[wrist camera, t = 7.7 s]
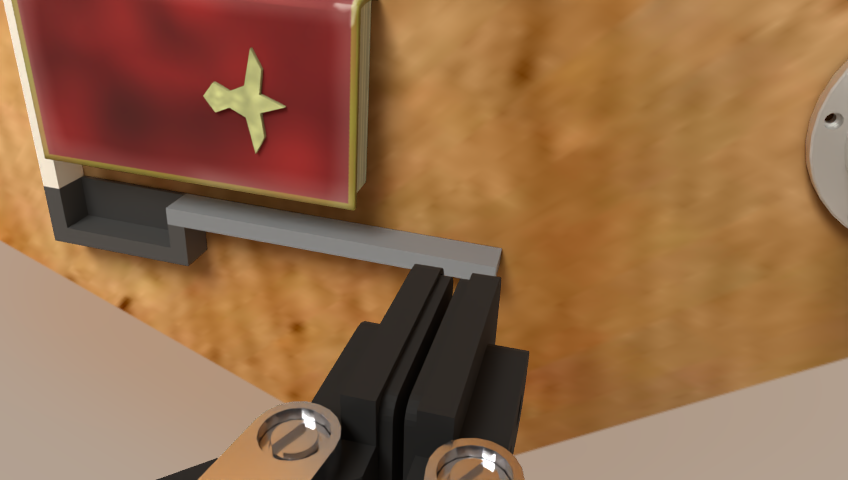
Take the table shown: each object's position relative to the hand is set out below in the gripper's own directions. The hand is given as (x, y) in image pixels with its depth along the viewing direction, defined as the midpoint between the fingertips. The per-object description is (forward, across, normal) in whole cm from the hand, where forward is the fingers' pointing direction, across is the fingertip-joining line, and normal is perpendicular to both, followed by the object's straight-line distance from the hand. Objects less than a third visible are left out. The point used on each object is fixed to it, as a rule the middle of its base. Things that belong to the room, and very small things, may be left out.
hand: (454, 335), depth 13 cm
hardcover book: (+27, +21, +3) cm, 34 cm away
